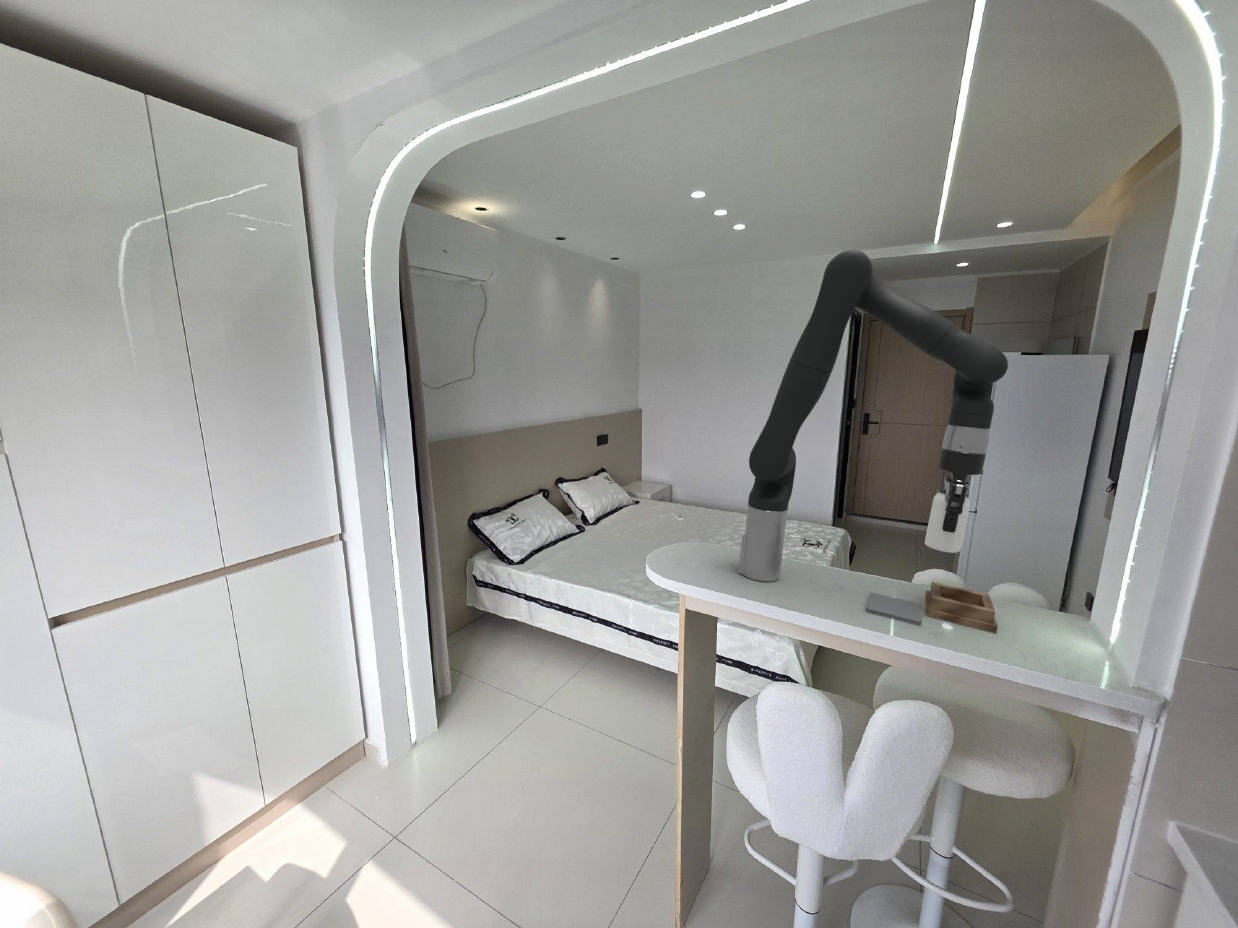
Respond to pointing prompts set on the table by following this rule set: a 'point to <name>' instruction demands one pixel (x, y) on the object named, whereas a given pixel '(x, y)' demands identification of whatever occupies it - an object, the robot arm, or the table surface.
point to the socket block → (961, 607)
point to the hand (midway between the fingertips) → (947, 527)
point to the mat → (894, 608)
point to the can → (935, 533)
